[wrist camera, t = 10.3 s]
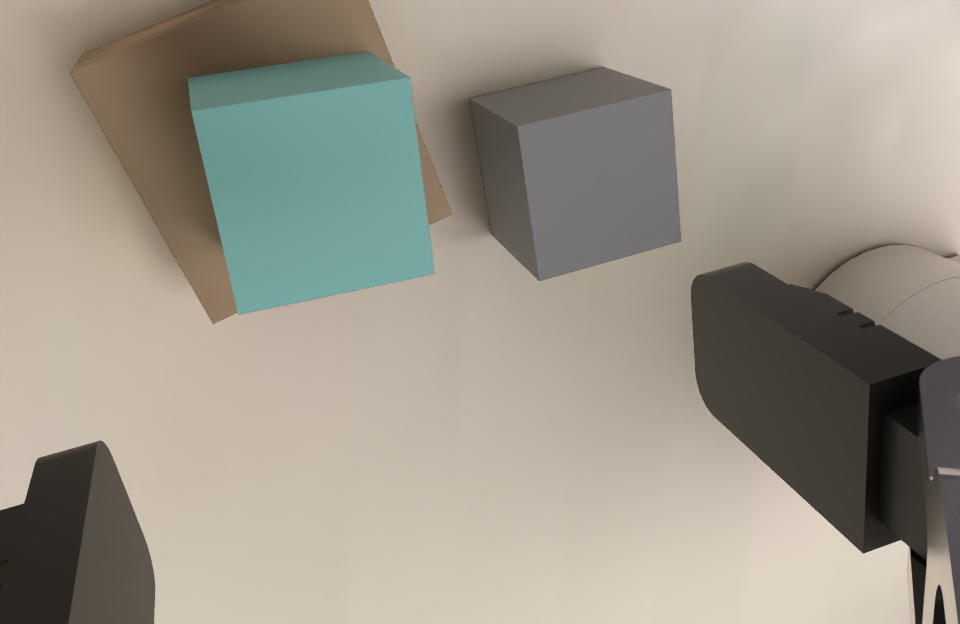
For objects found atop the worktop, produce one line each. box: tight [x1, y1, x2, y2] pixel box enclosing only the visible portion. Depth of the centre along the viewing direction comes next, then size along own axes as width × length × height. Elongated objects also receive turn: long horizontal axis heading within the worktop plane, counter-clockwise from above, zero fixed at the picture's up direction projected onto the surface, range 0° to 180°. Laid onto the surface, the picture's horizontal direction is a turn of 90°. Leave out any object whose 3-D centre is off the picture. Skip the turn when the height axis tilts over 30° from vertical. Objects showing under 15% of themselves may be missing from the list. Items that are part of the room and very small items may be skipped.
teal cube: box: [188, 52, 435, 315], centre depth 24 cm, size 5×5×5 cm
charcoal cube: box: [469, 67, 681, 281], centre depth 30 cm, size 5×5×5 cm
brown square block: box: [70, 0, 452, 324], centre depth 28 cm, size 8×8×4 cm
